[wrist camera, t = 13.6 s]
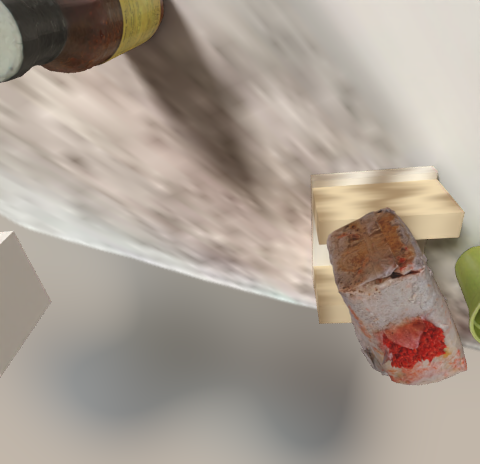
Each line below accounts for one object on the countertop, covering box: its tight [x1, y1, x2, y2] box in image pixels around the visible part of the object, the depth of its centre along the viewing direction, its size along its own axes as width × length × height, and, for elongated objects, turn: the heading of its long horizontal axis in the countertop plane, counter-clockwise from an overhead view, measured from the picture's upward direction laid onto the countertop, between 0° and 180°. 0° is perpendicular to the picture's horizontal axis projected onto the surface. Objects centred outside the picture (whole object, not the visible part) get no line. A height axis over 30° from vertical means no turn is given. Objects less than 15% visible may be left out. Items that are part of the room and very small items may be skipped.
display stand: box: [311, 166, 465, 324], centre depth 40 cm, size 12×14×8 cm
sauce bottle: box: [0, 0, 164, 83], centre depth 25 cm, size 6×6×20 cm
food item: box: [327, 207, 467, 385], centre depth 32 cm, size 14×8×10 cm, turn 32°
